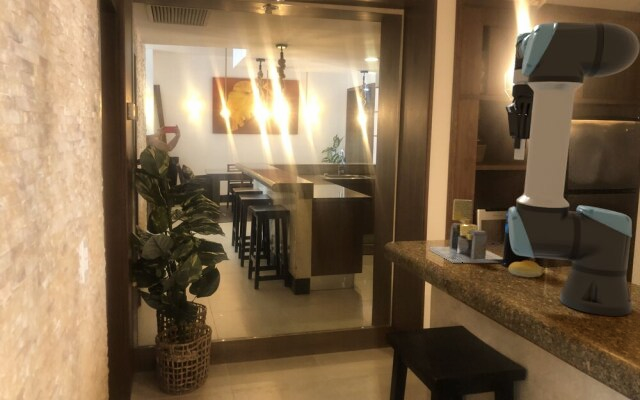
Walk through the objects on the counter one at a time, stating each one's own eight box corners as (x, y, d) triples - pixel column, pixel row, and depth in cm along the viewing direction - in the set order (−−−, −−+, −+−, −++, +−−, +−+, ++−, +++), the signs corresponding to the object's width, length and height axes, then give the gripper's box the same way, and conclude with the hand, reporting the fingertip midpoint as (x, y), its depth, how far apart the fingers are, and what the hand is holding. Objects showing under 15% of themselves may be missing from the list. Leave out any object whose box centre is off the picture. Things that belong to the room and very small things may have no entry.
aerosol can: (525, 263, 168) (531, 200, 165) (533, 270, 160) (539, 204, 157) (498, 262, 169) (504, 199, 166) (505, 268, 160) (510, 202, 158)
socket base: (505, 262, 168) (508, 232, 167) (452, 263, 164) (454, 232, 163) (478, 250, 185) (480, 223, 184) (429, 250, 182) (431, 222, 181)
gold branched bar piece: (463, 240, 168) (465, 206, 166) (450, 229, 186) (453, 199, 185) (482, 240, 168) (485, 206, 166) (468, 230, 186) (470, 199, 185)
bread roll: (502, 272, 157) (503, 259, 156) (525, 270, 160) (526, 257, 160) (523, 279, 149) (525, 265, 149) (547, 277, 153) (548, 263, 152)
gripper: (519, 82, 162) (512, 159, 164) (549, 85, 167) (542, 160, 170) (501, 83, 168) (494, 158, 171) (531, 86, 174) (524, 159, 177)
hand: (518, 159), depth 171 cm, fingers closed
